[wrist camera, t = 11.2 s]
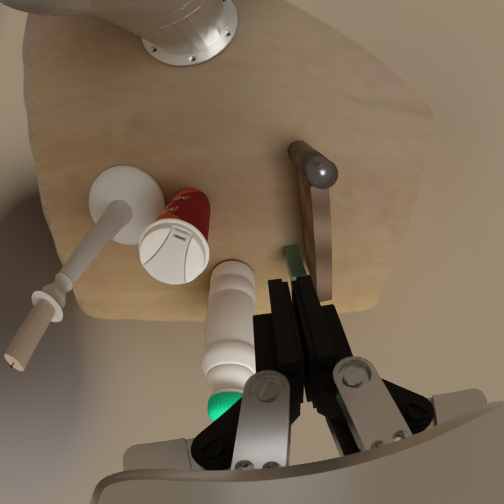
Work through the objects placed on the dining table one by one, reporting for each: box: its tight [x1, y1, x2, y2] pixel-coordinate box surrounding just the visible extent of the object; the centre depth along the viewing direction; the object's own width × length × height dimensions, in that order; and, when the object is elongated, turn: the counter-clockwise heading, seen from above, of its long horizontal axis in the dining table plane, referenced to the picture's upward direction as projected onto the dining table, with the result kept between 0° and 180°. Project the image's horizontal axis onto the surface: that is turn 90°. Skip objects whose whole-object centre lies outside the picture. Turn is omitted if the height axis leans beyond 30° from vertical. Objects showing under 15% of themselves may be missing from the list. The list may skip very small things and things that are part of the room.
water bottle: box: [201, 261, 257, 421], centre depth 35 cm, size 7×7×25 cm
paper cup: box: [139, 189, 210, 285], centre depth 34 cm, size 8×8×14 cm
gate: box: [297, 166, 332, 302], centre depth 36 cm, size 16×2×9 cm, turn 10°
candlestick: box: [4, 165, 166, 371], centre depth 26 cm, size 13×13×30 cm
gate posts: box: [284, 141, 338, 281], centre depth 35 cm, size 18×3×12 cm, turn 0°
